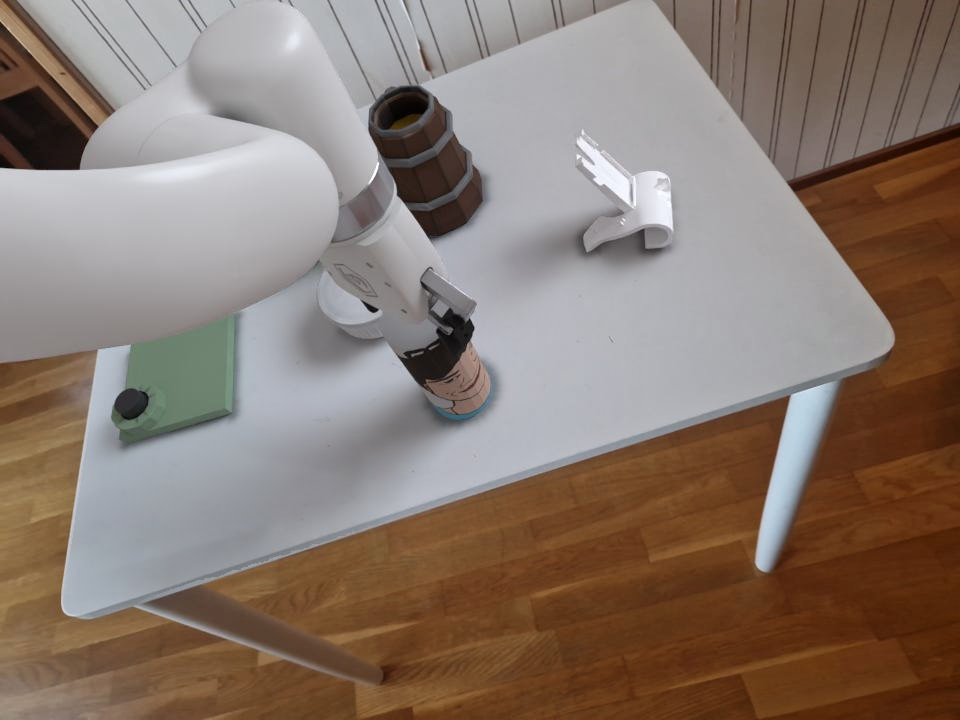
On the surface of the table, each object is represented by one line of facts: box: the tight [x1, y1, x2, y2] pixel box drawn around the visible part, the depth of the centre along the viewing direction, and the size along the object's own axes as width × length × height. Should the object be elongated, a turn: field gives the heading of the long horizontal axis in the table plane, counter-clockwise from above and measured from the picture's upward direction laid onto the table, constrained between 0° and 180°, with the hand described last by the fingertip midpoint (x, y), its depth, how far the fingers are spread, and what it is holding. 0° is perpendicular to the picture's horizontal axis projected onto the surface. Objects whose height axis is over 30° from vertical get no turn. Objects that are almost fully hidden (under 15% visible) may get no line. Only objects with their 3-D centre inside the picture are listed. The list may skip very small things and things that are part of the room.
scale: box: [110, 314, 236, 445], centre depth 82 cm, size 14×14×3 cm
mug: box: [367, 84, 484, 236], centre depth 81 cm, size 16×12×15 cm
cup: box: [380, 289, 493, 421], centre depth 66 cm, size 7×7×15 cm
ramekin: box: [316, 268, 384, 340], centre depth 78 cm, size 11×11×5 cm
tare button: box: [113, 388, 148, 419], centre depth 78 cm, size 3×3×2 cm
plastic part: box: [574, 128, 675, 253], centre depth 72 cm, size 8×10×12 cm
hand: (421, 320), depth 60 cm, fingers open, 9 cm apart
